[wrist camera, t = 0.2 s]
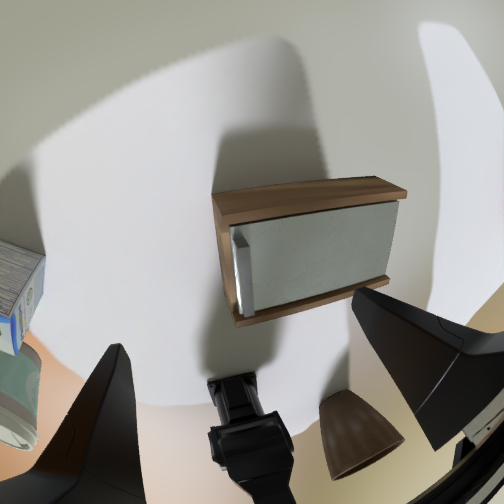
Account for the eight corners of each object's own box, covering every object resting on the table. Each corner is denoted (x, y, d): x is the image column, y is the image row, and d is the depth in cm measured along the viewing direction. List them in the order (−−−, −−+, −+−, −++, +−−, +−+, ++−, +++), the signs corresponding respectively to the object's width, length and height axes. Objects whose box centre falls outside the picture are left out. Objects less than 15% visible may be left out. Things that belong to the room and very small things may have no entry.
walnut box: (363, 261, 30) (388, 283, 26) (224, 294, 26) (236, 328, 22) (374, 175, 24) (407, 190, 21) (211, 194, 21) (222, 215, 17)
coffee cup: (37, 382, 25) (25, 456, 15) (-11, 347, 20) (-35, 420, 10) (61, 361, 25) (48, 448, 15) (6, 318, 20) (-27, 404, 10)
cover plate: (380, 270, 26) (393, 281, 24) (237, 308, 23) (244, 325, 21) (393, 198, 22) (409, 207, 20) (227, 222, 19) (234, 236, 17)
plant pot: (315, 424, 52) (344, 479, 38) (288, 412, 44) (321, 483, 30) (371, 389, 51) (406, 441, 38) (357, 368, 43) (403, 436, 29)
